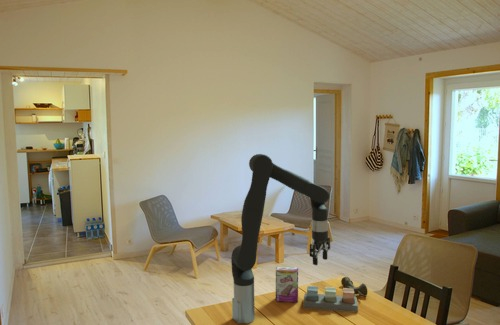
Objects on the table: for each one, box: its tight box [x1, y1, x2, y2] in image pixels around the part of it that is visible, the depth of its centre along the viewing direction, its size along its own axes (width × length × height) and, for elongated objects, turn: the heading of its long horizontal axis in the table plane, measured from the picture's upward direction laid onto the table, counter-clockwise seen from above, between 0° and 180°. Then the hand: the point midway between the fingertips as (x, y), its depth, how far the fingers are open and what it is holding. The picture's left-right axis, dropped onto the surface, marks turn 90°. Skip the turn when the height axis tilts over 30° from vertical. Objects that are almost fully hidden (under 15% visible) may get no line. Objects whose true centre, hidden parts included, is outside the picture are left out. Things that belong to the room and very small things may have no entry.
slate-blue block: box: [306, 285, 319, 301], centre depth 195 cm, size 5×5×5 cm
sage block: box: [324, 286, 337, 302], centre depth 193 cm, size 5×5×5 cm
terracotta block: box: [342, 287, 355, 303], centre depth 191 cm, size 5×5×5 cm
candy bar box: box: [275, 266, 299, 303], centre depth 199 cm, size 11×5×16 cm, turn 84°
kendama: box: [340, 276, 368, 297], centre depth 207 cm, size 6×10×20 cm
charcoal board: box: [303, 292, 359, 313], centre depth 193 cm, size 10×25×3 cm, turn 79°
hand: (320, 261), depth 189 cm, fingers open, 8 cm apart
